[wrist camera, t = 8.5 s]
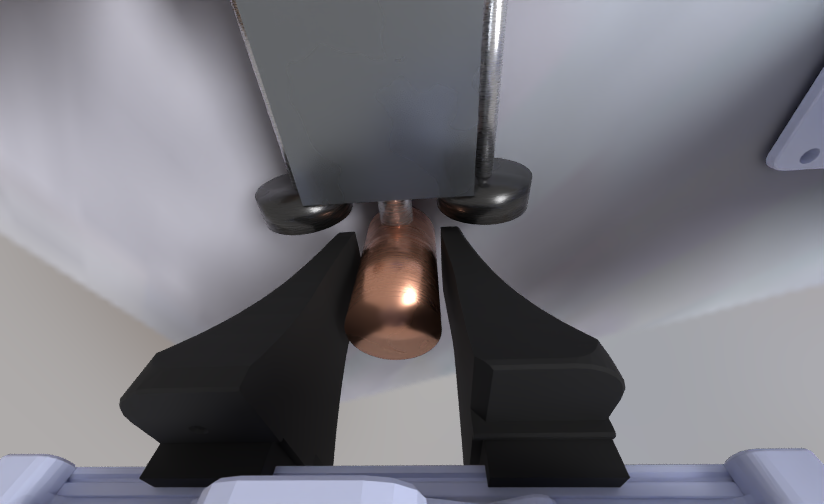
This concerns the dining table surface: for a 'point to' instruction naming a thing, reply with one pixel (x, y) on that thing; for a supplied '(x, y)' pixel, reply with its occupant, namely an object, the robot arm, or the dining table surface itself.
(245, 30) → the dolly
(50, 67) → the dining table surface
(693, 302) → the dining table surface
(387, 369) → the dining table surface
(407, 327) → the pin
